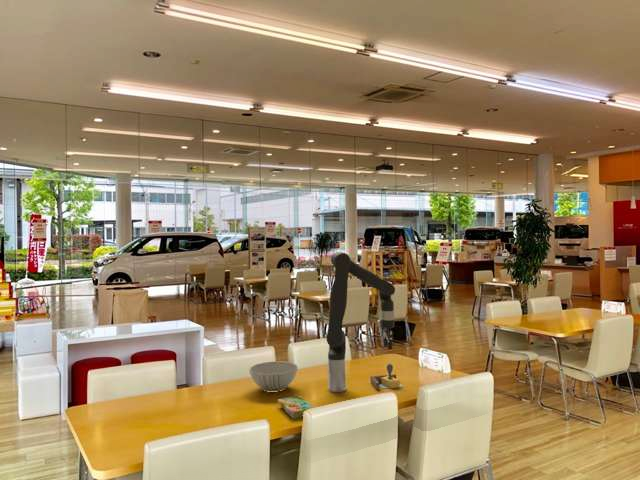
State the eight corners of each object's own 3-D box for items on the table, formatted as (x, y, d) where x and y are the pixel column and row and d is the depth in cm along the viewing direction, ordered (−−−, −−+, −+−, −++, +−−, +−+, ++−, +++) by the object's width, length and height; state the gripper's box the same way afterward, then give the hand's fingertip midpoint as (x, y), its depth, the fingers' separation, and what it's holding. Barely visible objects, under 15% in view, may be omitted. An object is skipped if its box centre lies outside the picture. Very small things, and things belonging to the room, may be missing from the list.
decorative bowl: (267, 400, 261) (266, 377, 260) (240, 389, 281) (240, 367, 281) (308, 389, 278) (307, 367, 277) (280, 379, 298) (279, 358, 298)
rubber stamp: (380, 383, 283) (380, 362, 282) (389, 382, 285) (388, 361, 285) (391, 388, 274) (390, 366, 274) (400, 386, 277) (399, 364, 276)
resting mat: (382, 388, 275) (382, 388, 275) (378, 384, 283) (378, 383, 283) (403, 387, 277) (403, 386, 277) (399, 382, 284) (399, 382, 284)
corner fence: (376, 390, 272) (376, 383, 272) (370, 383, 286) (370, 375, 286) (402, 388, 274) (402, 381, 274) (395, 381, 288) (395, 374, 288)
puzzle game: (291, 410, 233) (277, 397, 251) (291, 420, 233) (278, 407, 252) (314, 406, 237) (299, 394, 256) (314, 416, 238) (300, 403, 256)
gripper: (397, 320, 274) (398, 350, 274) (390, 316, 288) (391, 344, 288) (384, 321, 273) (384, 350, 273) (377, 316, 287) (378, 345, 287)
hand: (388, 347), depth 281 cm, fingers open, 8 cm apart
